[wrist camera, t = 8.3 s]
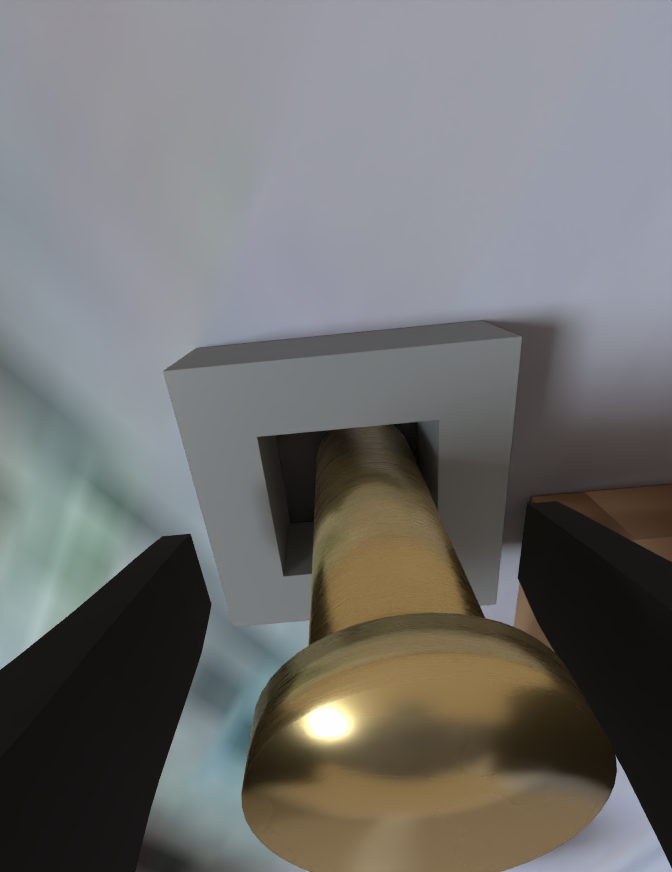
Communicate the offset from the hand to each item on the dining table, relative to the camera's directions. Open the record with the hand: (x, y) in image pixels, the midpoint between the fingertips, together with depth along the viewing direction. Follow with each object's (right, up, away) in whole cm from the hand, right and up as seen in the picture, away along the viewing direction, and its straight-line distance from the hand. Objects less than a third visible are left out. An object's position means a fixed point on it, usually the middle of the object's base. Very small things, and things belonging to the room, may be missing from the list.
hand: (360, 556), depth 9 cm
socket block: (0, +2, +4) cm, 4 cm away
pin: (0, +2, +4) cm, 5 cm away
